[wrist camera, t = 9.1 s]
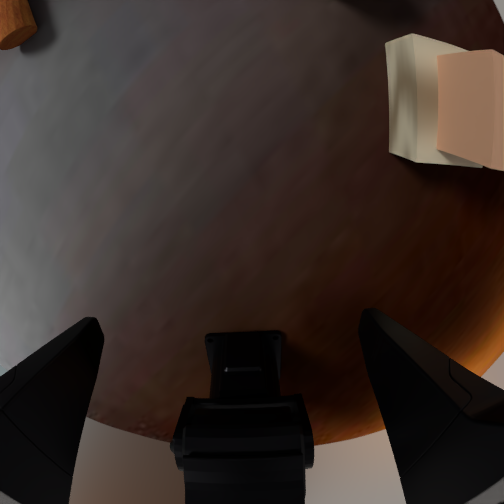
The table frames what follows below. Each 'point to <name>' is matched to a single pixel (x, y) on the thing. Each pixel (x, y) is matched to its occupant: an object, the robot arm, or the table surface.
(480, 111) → the terracotta brick
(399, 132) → the birch brick
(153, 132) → the table surface
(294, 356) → the table surface
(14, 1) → the kendama
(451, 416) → the robot arm
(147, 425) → the table surface
